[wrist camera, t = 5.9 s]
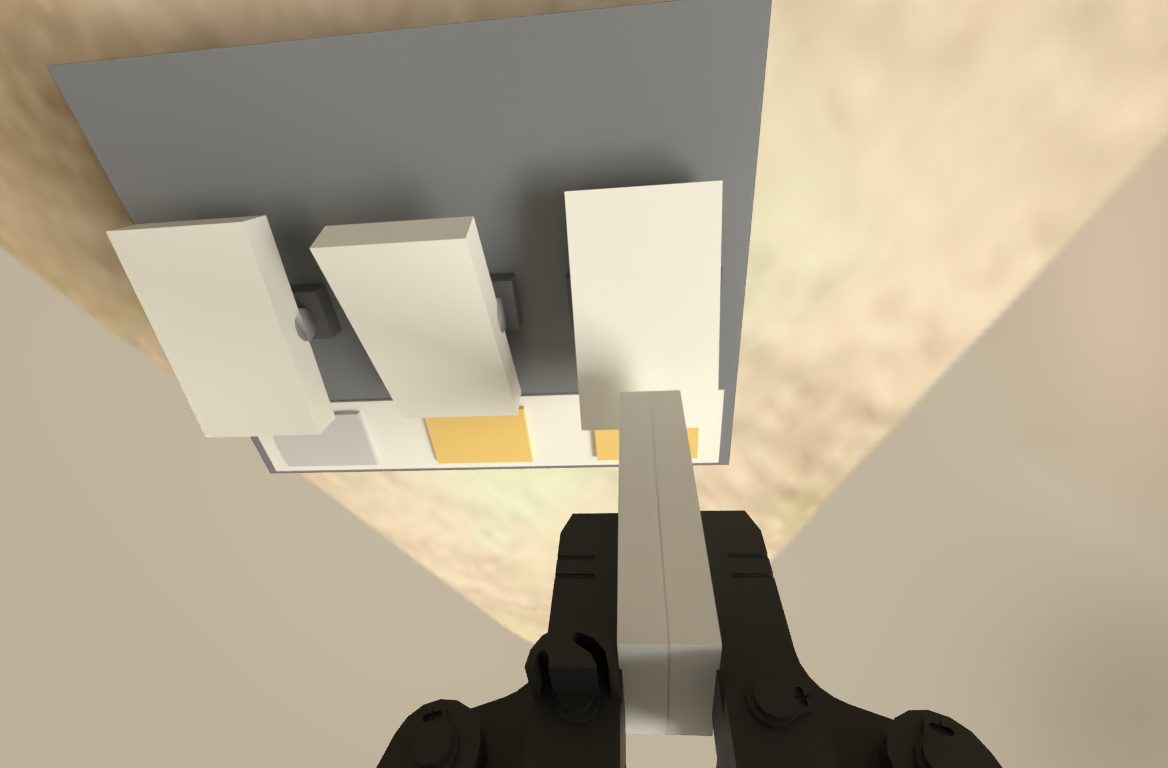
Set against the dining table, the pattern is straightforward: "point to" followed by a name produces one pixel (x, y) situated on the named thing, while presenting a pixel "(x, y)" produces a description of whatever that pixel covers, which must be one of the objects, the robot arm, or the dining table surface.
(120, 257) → the switch
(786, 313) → the dining table surface
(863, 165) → the dining table surface
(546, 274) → the panel
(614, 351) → the switch
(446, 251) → the switch
